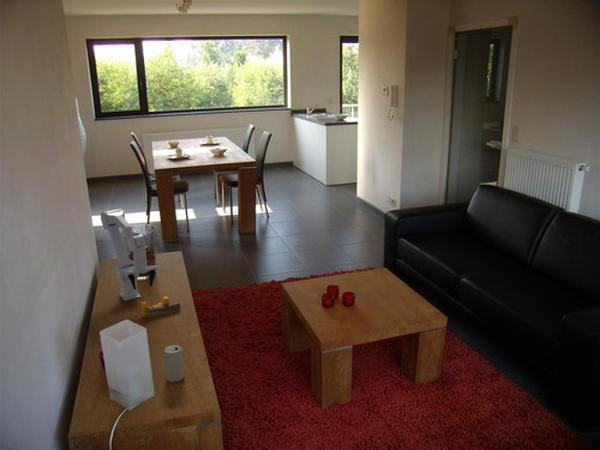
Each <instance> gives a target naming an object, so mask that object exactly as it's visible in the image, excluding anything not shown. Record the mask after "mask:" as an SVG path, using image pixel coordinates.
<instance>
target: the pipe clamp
mask: <svg viewBox="0 0 600 450" xmlns="http://www.w3.org/2000/svg"><path fill="white" fill-rule="evenodd" d="M165 304H170V298H169V297H168V296H167V295H166V296H163V297H162V300H161V302H158V303H156V304H155V305H152V306H151V307H150V306H149V305H148V303H147V301H145V300H144V301H140V305H141V313H142V314H141V315H142V317H143V318H147V314H146V309H149V308H153V307H157V306H161V305H165Z"/></svg>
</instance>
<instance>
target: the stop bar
mask: <svg viewBox="0 0 600 450" xmlns="http://www.w3.org/2000/svg"><path fill="white" fill-rule="evenodd" d="M152 307H153V306H152ZM178 311H181V303H180V302H179V301H175V302H169V304H165V305H161V306H157V307H153V308H149V309H146V314H147V316H146V318H147V319H152V318H156V317H158V316H159V317H160V316H163V315H167V314H171V313H175V312H178Z"/></svg>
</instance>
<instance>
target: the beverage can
mask: <svg viewBox="0 0 600 450" xmlns="http://www.w3.org/2000/svg"><path fill="white" fill-rule="evenodd" d="M163 359H164V361H163V362H164V370H165V378H166V381H168V382H171V383H177V382H180V381H181V380H183V379H184V377H185V369H184V368H185V367H184V356H183V350H182V347H181V346H180V345H178V344H172V345H169V346H166V347H165V348H164V351H163Z"/></svg>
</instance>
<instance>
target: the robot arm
mask: <svg viewBox="0 0 600 450" xmlns="http://www.w3.org/2000/svg"><path fill="white" fill-rule="evenodd" d="M125 217H126V215H125V211H124V210H123V209H122V208H116V209H111V210H106V211H101V214H100V222H101V224H102V227H103V229H104V230H106V231H107V232H108V236H109V238H110V241H111V244H112V246H113V248H114V249H113V250H114V253H115V255H116V257H117V260H118V263H117V264H116V266H115V268H114V270H115V275H116V276H115V277H116V279H117V280H118V281H119V283H120V293H119V295H120V297H121V298H122V300H123V301H125V302H126V301H129V300H134V299H139V298H141V297H142V296H141V295H140V293H139V291H138V282H137V281H138V277H139V276H140V274H145V273H147V274H148V283H149V286H150V287H153V283H154V279H155V276H156V273H157V272H156V271H158V266H157V265H156V264H155V265H148V262H147V261H148V260H147V251H146V250H147V249H146V246H148V238H147V236H146V234H144V233H143V232H139V230H138V229H136V228H135V226H134V225H131V224H129V222H128V221H127V220H126V218H125ZM120 229H121V230H122V234H123V235H124V237H125V238H126V239H127V240H128V242H129V245H130V249H131V252H132V257H133V259H130V257H129V255H128V252H127V249H126V246H125V243H124V240H123V238H122V235H121V232H120Z"/></svg>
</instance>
